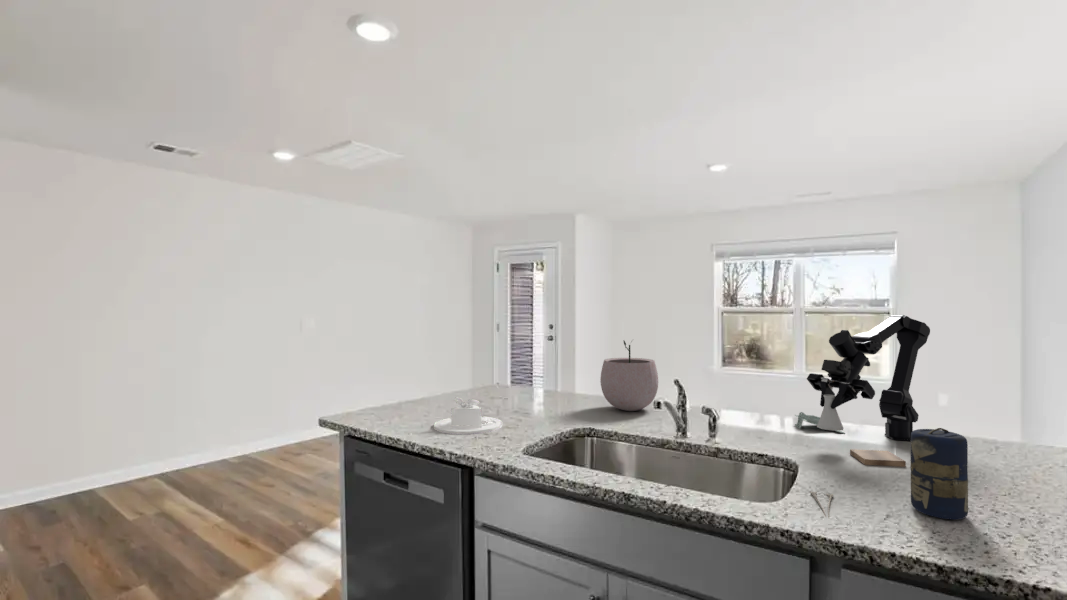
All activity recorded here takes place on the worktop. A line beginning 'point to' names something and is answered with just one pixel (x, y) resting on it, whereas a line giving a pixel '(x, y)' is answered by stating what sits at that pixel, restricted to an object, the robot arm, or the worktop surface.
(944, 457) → the canister
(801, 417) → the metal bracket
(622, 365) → the plant pot
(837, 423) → the flask
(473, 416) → the dish
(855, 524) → the worktop surface
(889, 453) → the walnut board
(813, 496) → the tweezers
